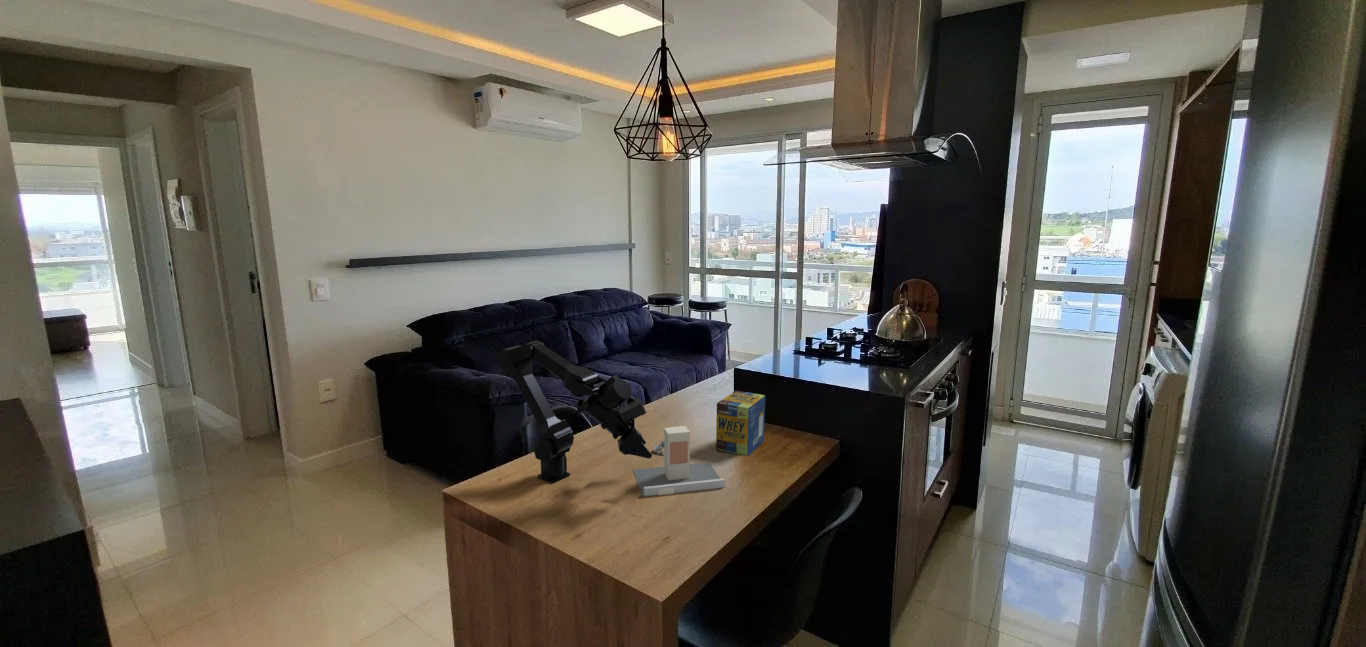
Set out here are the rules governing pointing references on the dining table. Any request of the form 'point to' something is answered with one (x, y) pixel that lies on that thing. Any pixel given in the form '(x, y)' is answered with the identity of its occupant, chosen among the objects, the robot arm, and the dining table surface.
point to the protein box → (740, 423)
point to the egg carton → (659, 448)
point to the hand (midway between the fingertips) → (647, 450)
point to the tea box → (677, 453)
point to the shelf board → (677, 480)
